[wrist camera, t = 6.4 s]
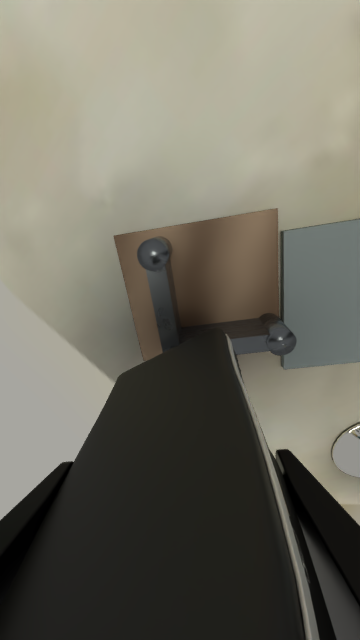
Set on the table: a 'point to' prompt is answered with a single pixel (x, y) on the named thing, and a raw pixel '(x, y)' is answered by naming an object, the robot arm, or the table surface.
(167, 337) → the bent rail
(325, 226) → the end mat
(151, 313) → the rail board
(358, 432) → the wineglass
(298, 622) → the battery charger
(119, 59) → the table surface
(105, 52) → the table surface
